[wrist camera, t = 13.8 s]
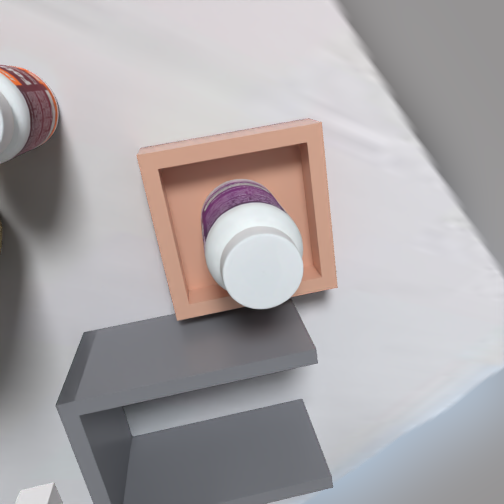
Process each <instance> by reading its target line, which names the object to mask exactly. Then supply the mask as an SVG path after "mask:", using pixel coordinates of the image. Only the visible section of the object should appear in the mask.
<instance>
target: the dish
mask: <svg viewBox="0 0 504 504" xmlns="http://www.w3.org/2000/svg"><path fill="white" fill-rule="evenodd" d="M137 159H138V163H139V167H140V171H141V175H142V180H143V184H144V188H145V192H146V196H147V200H148V204H149V208H150V212H151V216H152V220H153V224H154V228H155V233H156V237H157V241H158V245H159V249H160V253H161V257H162V261H163V265H164V269H165V273H166V277H167V281H168V286H169V290H170V294H171V298H172V302H173V306H174V310H175V314H176V318H177V321H178V320H183V319H188V318H193V317H198V316H203V315H207V314H212V313H217V312H222V311H227V310H232V309H236V308H241V307H245V306H243V305H241V304H239V303H238V302H236V301H235V300H234V299H233V298H232V297H231V296H230V295H229V293H228V292H227V291H226V290H225V289H223V288H222V287H221V286H220V285H219V284H218V283H217V282H216V281H215V280H214V278H213V277H212V275H211V274H210V272H209V269H208V267H207V264H206V259H205V253H204V245H203V237H202V229H201V210H202V207H203V204H204V202H205V200H206V198H207V196H208V195H209V194H210V193H211V192H212V191H213V190H214V189H215V188H216V187H218V186H219V185H220V184H222V183H224V182H226V181H230V180H234V179H249V180H253V181H255V182H258V183H260V184H262V185H263V186H265V187H266V188H267V189H268V190H269V191H270V192H271V193H272V195H273V196H274V197H275V198H276V200H277V201H278V202H279V204H280V205H281V206H282V207H283V209H284V210H285V211H286V212H287V214H288V215H289V216H290V217H291V218H292V220H293V221H294V222H295V224H296V226H297V227H298V229H299V231H300V234H301V237H302V242H303V257H302V260H303V277H302V280H301V283H300V285H299V287H298V289H297V290H296V292H295V293H294V294H293V295H292V296H291V297H294V296H299V295H304V294H309V293H314V292H319V291H323V290H328V289H333V288H338V287H337V277H336V266H335V256H334V245H333V235H332V225H331V214H330V204H329V193H328V183H327V172H326V162H325V151H324V141H323V131H322V122H319V121H316V120H312V119H309V118H308V119H303V120H297V121H291V122H286V123H280V124H274V125H269V126H263V127H257V128H252V129H246V130H240V131H235V132H229V133H223V134H218V135H212V136H206V137H201V138H195V139H189V140H184V141H178V142H172V143H167V144H161V145H155V146H150V147H144V148H141V149H140V150H139V152H138V154H137Z"/></svg>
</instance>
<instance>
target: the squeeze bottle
mask: <svg viewBox="0 0 504 504" xmlns="http://www.w3.org/2000/svg"><path fill="white" fill-rule="evenodd" d="M1 248H2V224H1V220H0V253H1Z"/></svg>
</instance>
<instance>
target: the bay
mask: <svg viewBox="0 0 504 504" xmlns="http://www.w3.org/2000/svg"><path fill="white" fill-rule="evenodd" d="M317 363H318V360H317V351H316V348H315V346H314V344H313V342H312V340H311V338H310V336H309V334H308V332H307V330H306V328H305V326H304V324H303V322H302V320H301V318H300V316H299V314H298V312H297V310H296V308H295V306H294V304H293V302H292V300H291V298H289V299H288V300H287V301H285V302H284V303H282V304H280V305H278V306H275V307H272V308H268V309H252V308H248V307H241V308H236V309H232V310H227V311H222V312H217V313H212V314H207V315H203V316H198V317H193V318H188V319H183V320H178V321H177V318H176V314H172V315H167V316H162V317H157V318H152V319H147V320H142V321H138V322H133V323H128V324H123V325H118V326H113V327H108V328H104V329H99V330H94V331H89V332H84V333H83V336H82V339H81V341H80V344H79V346H78V349H77V351H76V354H75V357H74V359H73V362H72V364H71V367H70V370H69V372H68V375H67V377H66V380H65V382H64V385H63V388H62V390H61V393H60V395H59V398H58V401H57V403H56V408H57V410H58V413H59V415H60V418H61V421H62V423H63V426H64V428H65V431H66V434H67V436H68V439H69V441H70V444H71V446H72V449H73V452H74V454H75V457H76V459H77V462H78V465H79V467H80V470H81V472H82V475H83V478H84V480H85V483H86V485H87V488H88V490H89V493H90V496H91V498H92V501H93V503H94V504H266V503H270V502H275V501H279V500H283V499H287V498H291V497H295V496H299V495H304V494H308V493H312V492H316V491H320V490H324V489H328V488H333V483H332V476H331V473H330V471H329V468H328V465H327V463H326V460H325V457H324V455H323V452H322V450H321V447H320V444H319V442H318V439H317V436H316V434H315V431H314V428H313V426H312V423H311V420H310V418H309V415H308V413H307V410H306V407H305V405H304V402H303V399H299V400H295V401H290V402H286V403H282V404H277V405H273V406H268V407H264V408H259V409H255V410H250V411H246V412H241V413H237V414H233V415H228V416H224V417H219V418H215V419H210V420H206V421H201V422H197V423H193V424H188V425H184V426H179V427H175V428H170V429H166V430H161V431H157V432H152V433H148V434H144V435H139V436H135V437H132V435H131V432H130V429H129V425H128V422H127V419H126V416H125V413H124V410H123V407H122V406H125V405H130V404H134V403H139V402H143V401H148V400H152V399H157V398H162V397H166V396H171V395H175V394H180V393H184V392H189V391H194V390H198V389H203V388H207V387H212V386H216V385H221V384H225V383H230V382H235V381H239V380H244V379H248V378H253V377H257V376H262V375H267V374H271V373H276V372H280V371H285V370H289V369H294V368H299V367H303V366H308V365H312V364H317Z"/></svg>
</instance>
